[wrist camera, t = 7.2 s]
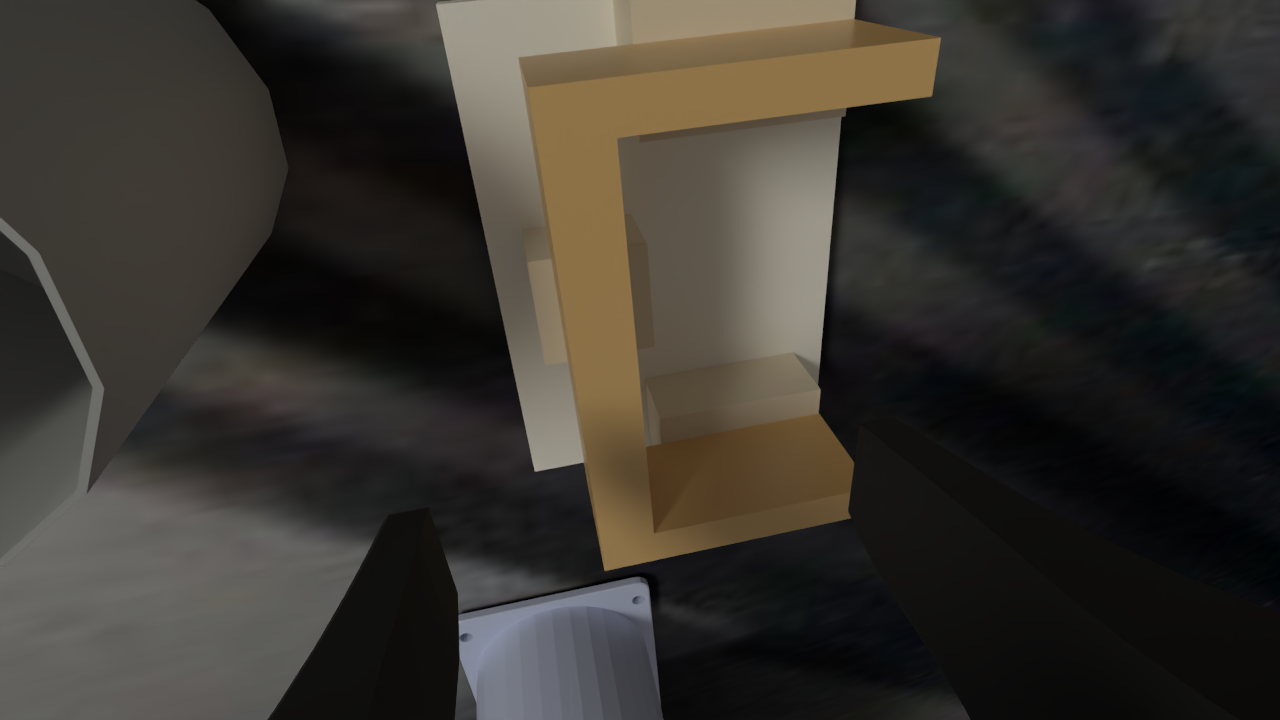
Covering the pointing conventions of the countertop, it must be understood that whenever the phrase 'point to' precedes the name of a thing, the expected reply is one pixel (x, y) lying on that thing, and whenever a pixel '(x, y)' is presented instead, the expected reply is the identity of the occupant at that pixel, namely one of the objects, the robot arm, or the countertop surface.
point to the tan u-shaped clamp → (600, 279)
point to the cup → (114, 226)
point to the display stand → (658, 223)
